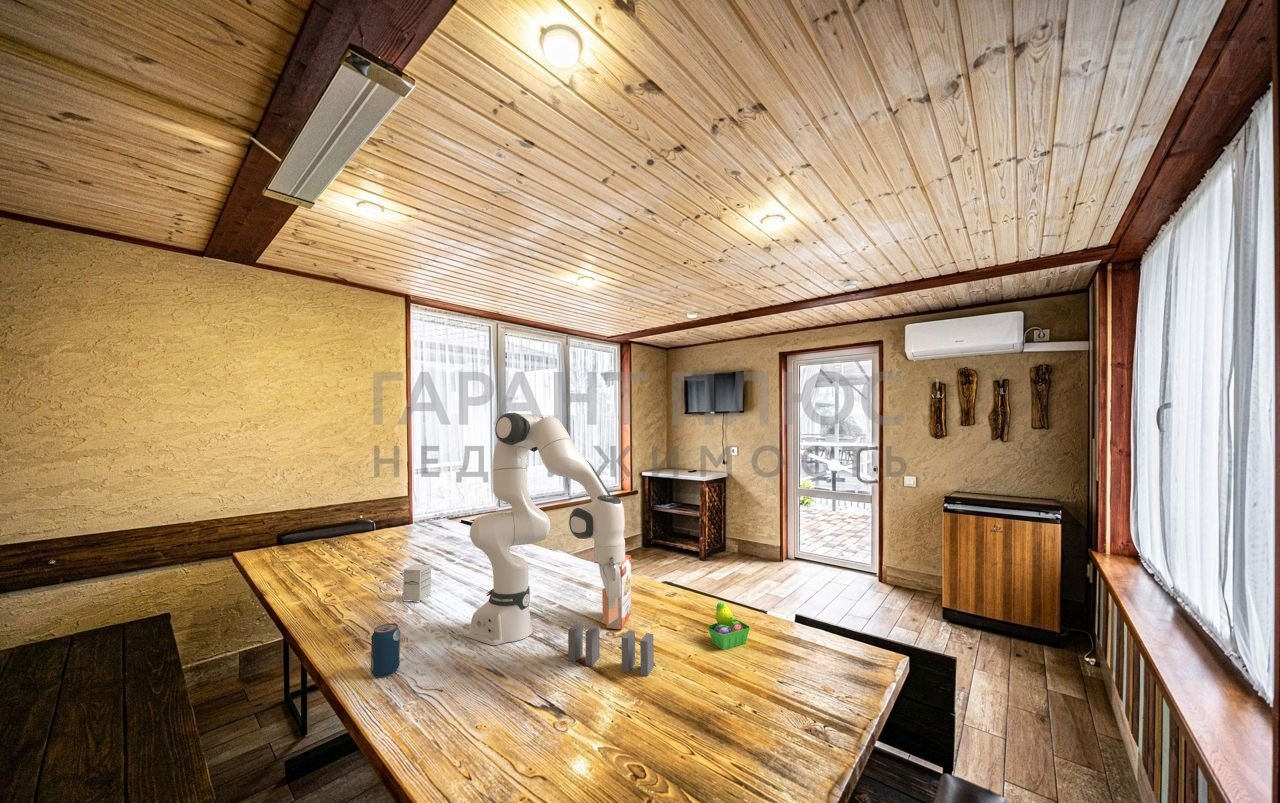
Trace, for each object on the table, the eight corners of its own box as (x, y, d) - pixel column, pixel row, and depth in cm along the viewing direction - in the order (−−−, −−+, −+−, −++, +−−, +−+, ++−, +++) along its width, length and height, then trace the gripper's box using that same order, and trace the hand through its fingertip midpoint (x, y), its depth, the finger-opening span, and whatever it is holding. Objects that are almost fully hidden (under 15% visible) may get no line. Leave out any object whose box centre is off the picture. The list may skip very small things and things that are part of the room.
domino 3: (602, 622, 129) (602, 589, 130) (612, 616, 134) (612, 584, 134) (608, 624, 129) (608, 590, 129) (618, 617, 133) (617, 585, 133)
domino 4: (621, 671, 127) (621, 637, 127) (628, 662, 131) (628, 630, 132) (628, 672, 126) (628, 638, 127) (635, 664, 131) (634, 631, 131)
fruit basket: (722, 653, 137) (721, 613, 137) (704, 641, 144) (703, 603, 145) (752, 644, 142) (751, 606, 142) (733, 633, 150) (732, 597, 150)
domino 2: (585, 664, 130) (585, 632, 131) (593, 656, 135) (593, 624, 136) (592, 666, 130) (591, 633, 130) (599, 657, 134) (599, 625, 135)
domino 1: (568, 661, 132) (568, 629, 133) (576, 653, 137) (576, 622, 138) (574, 662, 132) (574, 630, 132) (582, 654, 136) (582, 623, 137)
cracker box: (623, 630, 152) (622, 565, 154) (605, 629, 154) (604, 564, 155) (632, 613, 166) (631, 554, 167) (615, 612, 167) (615, 553, 169)
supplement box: (402, 602, 180) (402, 569, 181) (414, 595, 187) (415, 563, 188) (419, 603, 179) (420, 569, 180) (431, 596, 186) (431, 564, 187)
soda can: (405, 668, 130) (405, 624, 130) (384, 681, 123) (384, 634, 124) (386, 664, 132) (387, 621, 133) (364, 676, 126) (365, 631, 126)
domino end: (640, 674, 125) (640, 640, 125) (646, 666, 129) (646, 632, 130) (647, 676, 124) (647, 641, 125) (653, 667, 129) (653, 633, 129)
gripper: (626, 562, 123) (626, 616, 122) (616, 544, 143) (616, 590, 142) (602, 564, 122) (602, 618, 121) (595, 545, 142) (596, 592, 141)
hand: (610, 603), depth 132 cm, fingers closed on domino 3, 5 cm apart
